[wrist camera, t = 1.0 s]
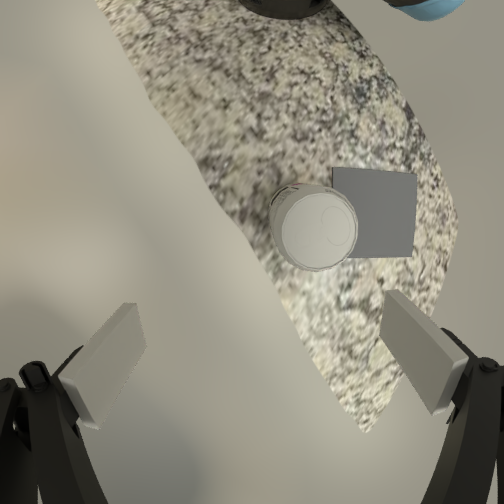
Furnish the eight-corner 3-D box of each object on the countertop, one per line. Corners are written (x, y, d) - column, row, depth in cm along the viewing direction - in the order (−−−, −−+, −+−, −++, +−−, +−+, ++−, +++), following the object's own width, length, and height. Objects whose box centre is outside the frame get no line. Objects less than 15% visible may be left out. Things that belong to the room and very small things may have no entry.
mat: (332, 167, 37) (333, 167, 37) (415, 174, 37) (417, 174, 37) (329, 257, 40) (330, 258, 40) (410, 256, 40) (411, 256, 40)
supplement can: (313, 174, 38) (346, 172, 23) (333, 229, 39) (373, 257, 25) (258, 195, 38) (260, 205, 24) (280, 250, 40) (293, 289, 26)
